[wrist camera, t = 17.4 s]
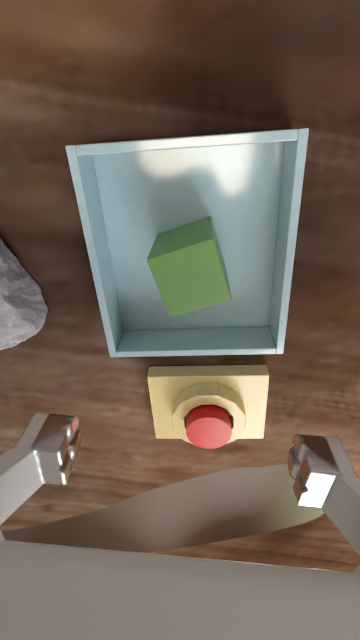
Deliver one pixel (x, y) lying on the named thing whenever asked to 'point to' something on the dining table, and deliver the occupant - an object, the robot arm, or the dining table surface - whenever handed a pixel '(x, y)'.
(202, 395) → the button housing
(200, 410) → the button
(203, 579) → the robot arm
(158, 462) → the dining table surface
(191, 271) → the green block
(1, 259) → the stone block
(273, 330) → the basin
